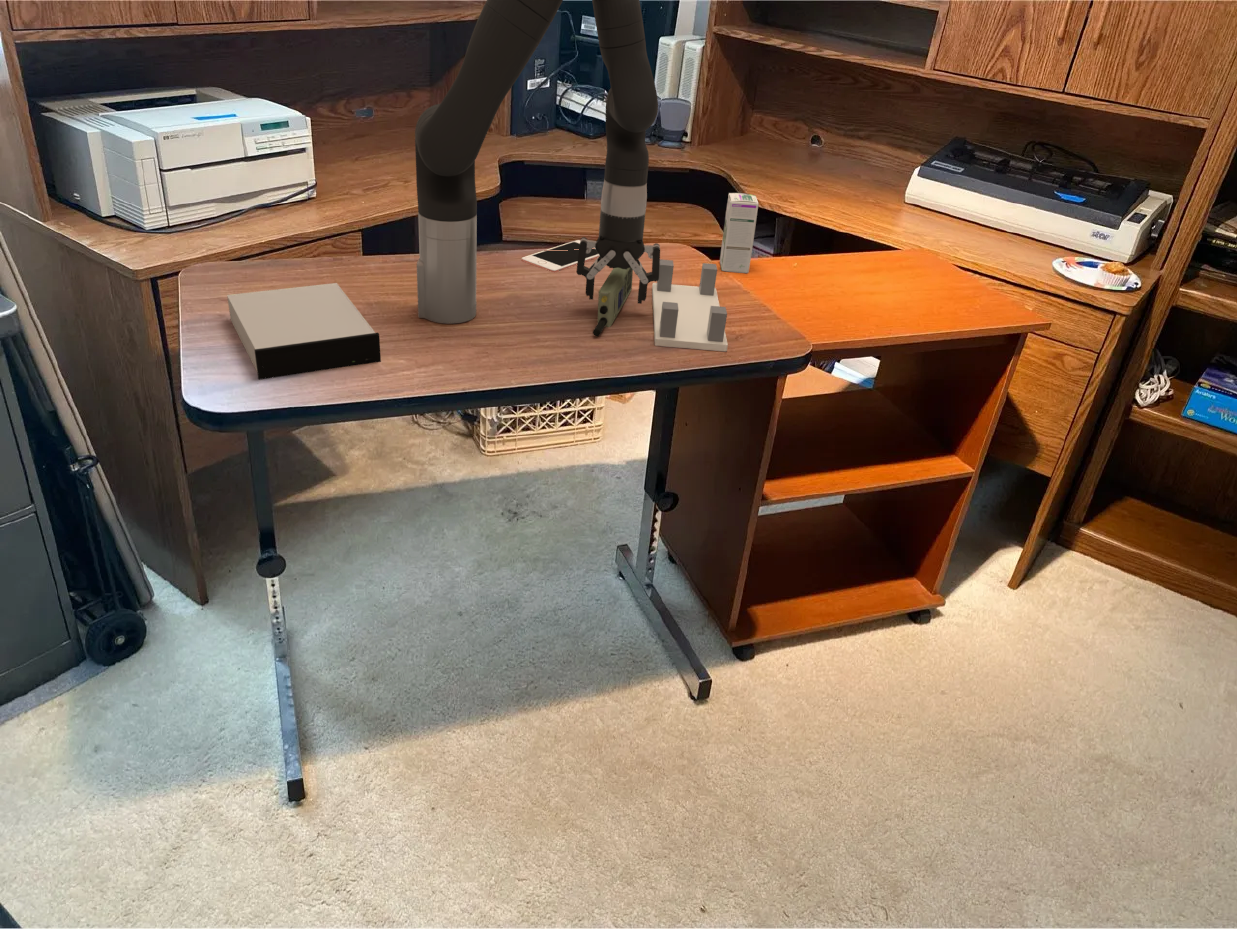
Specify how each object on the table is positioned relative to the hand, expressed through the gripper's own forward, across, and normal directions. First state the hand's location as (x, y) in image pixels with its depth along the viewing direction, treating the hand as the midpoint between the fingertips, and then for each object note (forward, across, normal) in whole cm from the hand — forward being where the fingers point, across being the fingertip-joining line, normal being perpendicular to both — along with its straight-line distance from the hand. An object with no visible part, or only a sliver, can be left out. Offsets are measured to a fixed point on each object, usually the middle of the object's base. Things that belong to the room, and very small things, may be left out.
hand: (615, 300), depth 163 cm
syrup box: (+3, +24, +29) cm, 38 cm away
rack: (+2, +13, 0) cm, 13 cm away
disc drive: (+3, -48, -22) cm, 53 cm away
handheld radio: (+3, 0, 0) cm, 3 cm away
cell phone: (+3, -10, +27) cm, 29 cm away
